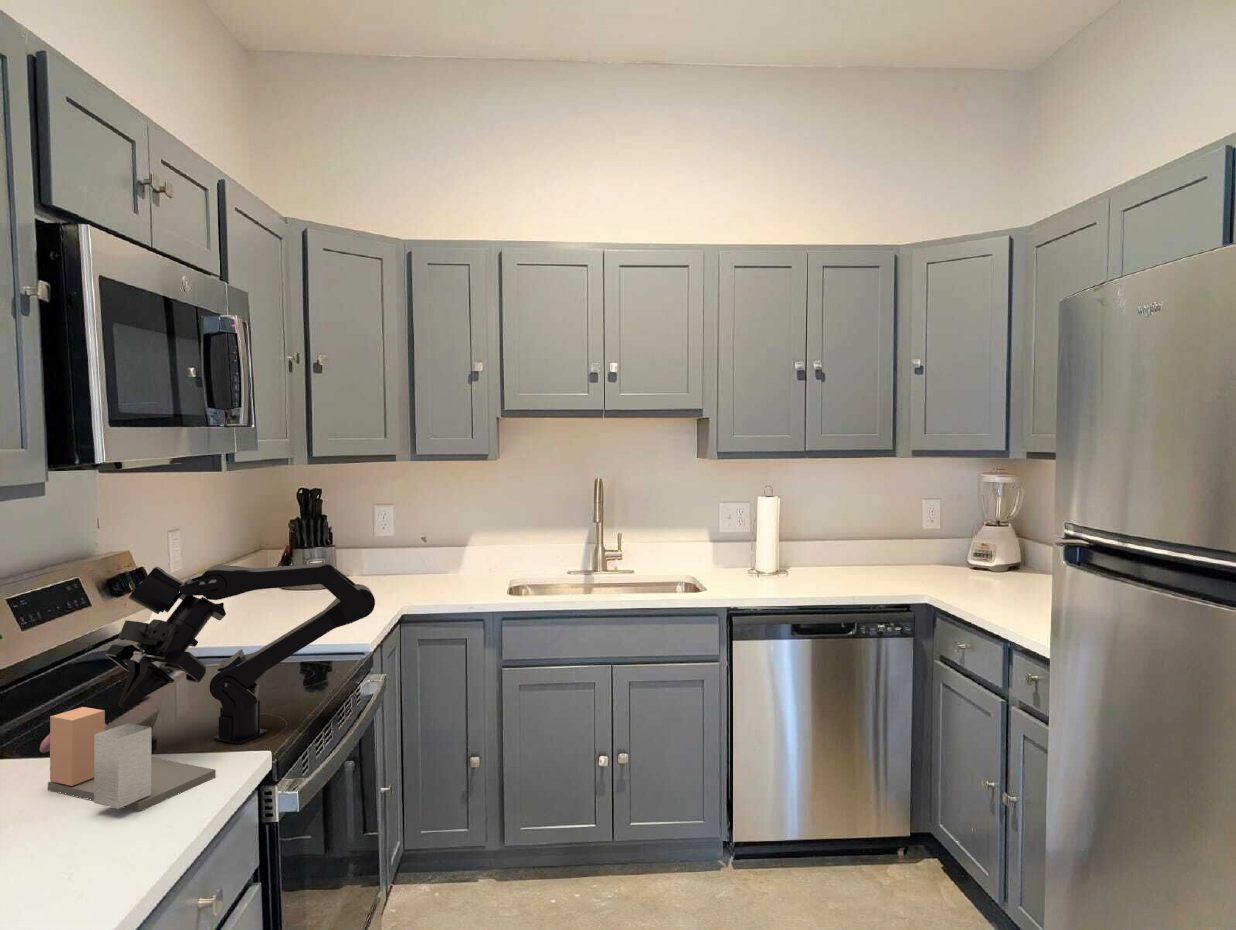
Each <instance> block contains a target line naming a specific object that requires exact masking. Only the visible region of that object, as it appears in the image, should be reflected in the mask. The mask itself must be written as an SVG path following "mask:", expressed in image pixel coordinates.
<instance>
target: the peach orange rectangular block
mask: <svg viewBox="0 0 1236 930" xmlns="http://www.w3.org/2000/svg"><path fill="white" fill-rule="evenodd" d="M105 711H106V710H105V709H97V708H91V707H86V706H81V707H78V708H75V709H71V710H67V711H64V712H61V713H57V714H55V715H51V716H49V719H50V720H49V721H50V722H49V724H50V725H49V727H50V732H49V734H50V751H49V782H51V781H52V782H57V783H61V784H65V785H70V786H73V785H76V784H78V783H81V782H84V781H86V780H89V779H91V778H94V734H97V733H100V732H103V731H105V724H106V723H105V721H106V718H105V716H106V712H105Z"/></svg>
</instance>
